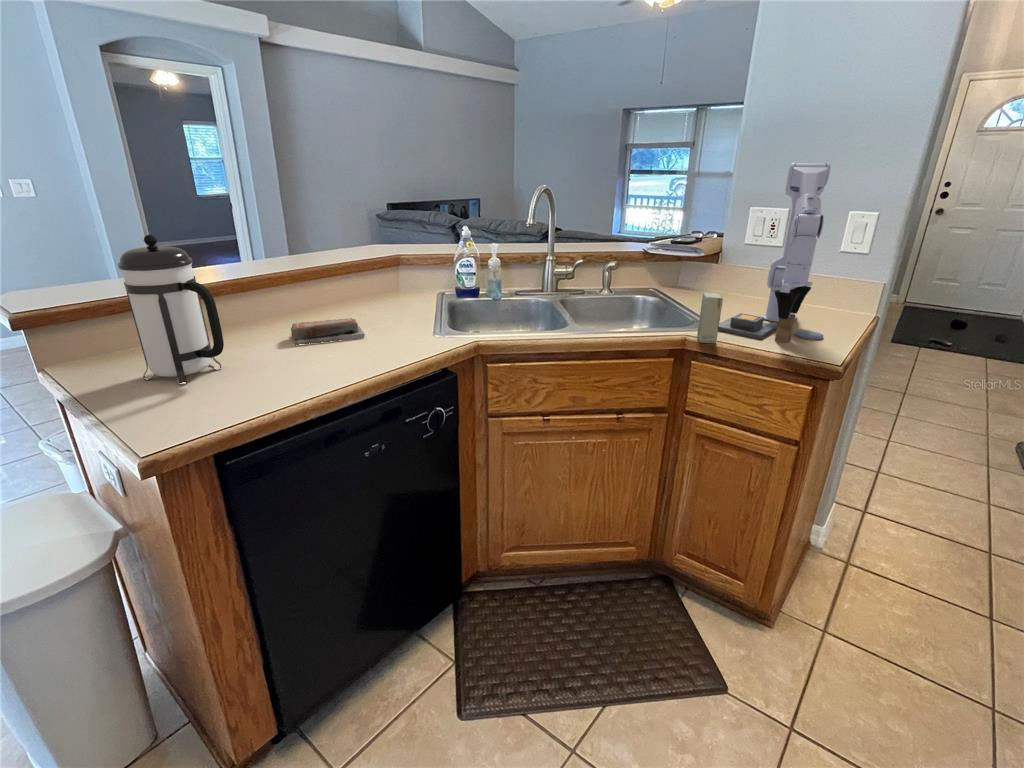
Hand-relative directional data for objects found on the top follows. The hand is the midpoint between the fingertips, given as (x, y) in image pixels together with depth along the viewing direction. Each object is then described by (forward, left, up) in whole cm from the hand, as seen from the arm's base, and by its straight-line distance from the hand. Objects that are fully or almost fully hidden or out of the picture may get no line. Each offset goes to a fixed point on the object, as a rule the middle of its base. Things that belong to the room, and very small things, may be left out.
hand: (787, 315), depth 140 cm
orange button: (-3, -11, -4) cm, 12 cm away
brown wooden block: (0, 0, -7) cm, 7 cm away
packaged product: (+83, -90, -8) cm, 123 cm away
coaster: (-9, +4, -7) cm, 12 cm away
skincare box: (+14, -15, -7) cm, 22 cm away
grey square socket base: (-3, -11, -7) cm, 13 cm away
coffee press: (+118, -87, -7) cm, 147 cm away
